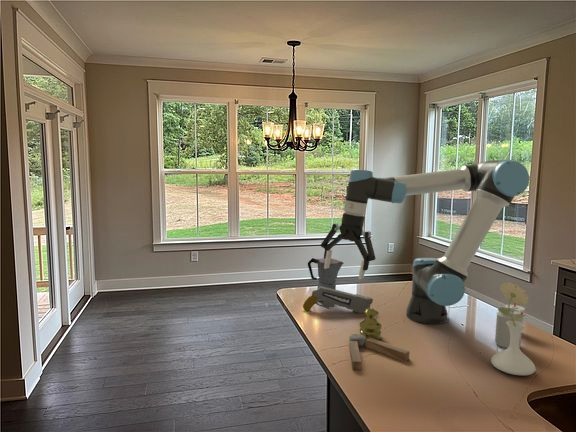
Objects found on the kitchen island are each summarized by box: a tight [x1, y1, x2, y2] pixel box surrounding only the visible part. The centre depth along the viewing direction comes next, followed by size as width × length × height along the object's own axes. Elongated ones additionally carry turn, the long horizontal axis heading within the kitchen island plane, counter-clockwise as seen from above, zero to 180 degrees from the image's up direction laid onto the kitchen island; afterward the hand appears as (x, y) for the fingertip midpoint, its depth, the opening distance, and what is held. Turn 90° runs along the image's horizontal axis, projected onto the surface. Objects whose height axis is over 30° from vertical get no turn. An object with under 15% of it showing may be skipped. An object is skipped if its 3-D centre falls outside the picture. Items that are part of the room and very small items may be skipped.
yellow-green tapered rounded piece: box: [359, 307, 383, 341], centre depth 143 cm, size 7×7×10 cm
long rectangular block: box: [365, 338, 410, 362], centre depth 131 cm, size 2×14×2 cm, turn 46°
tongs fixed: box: [348, 333, 366, 371], centre depth 129 cm, size 5×20×2 cm, turn 176°
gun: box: [302, 286, 374, 314], centre depth 167 cm, size 3×25×15 cm, turn 88°
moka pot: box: [307, 257, 344, 303], centre depth 181 cm, size 10×15×20 cm, turn 89°
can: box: [494, 307, 524, 350], centre depth 136 cm, size 8×8×12 cm
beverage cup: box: [504, 303, 526, 315], centre depth 147 cm, size 6×6×14 cm
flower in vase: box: [490, 281, 537, 376], centre depth 120 cm, size 13×11×25 cm
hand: (343, 273), depth 147 cm, fingers open, 13 cm apart
